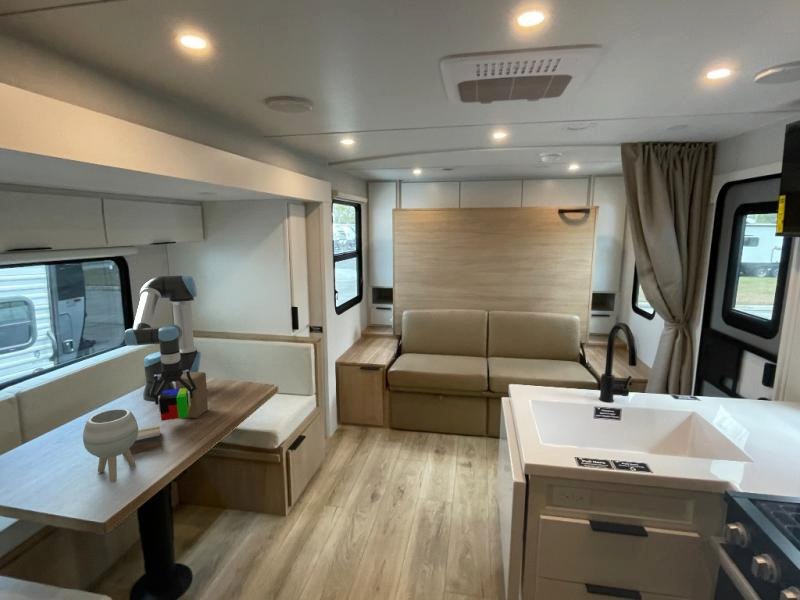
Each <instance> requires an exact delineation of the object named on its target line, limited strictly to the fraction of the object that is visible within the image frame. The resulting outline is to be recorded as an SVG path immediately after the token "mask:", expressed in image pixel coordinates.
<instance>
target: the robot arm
mask: <svg viewBox="0 0 800 600" xmlns="http://www.w3.org/2000/svg"><path fill="white" fill-rule="evenodd" d="M195 282H196V281H195V280H194V278H193V277H192V275H161V276H155V277H153V278H151V279H150V280H148V281H147V282H146V283H145V284H144V285H143V286H142V287H141V288H140V290H139V296H138V297H139V303H138V308H137V310H136V314H135V317H134V318H135V319H134V322H133V324H132V328H128V329H126V330H125V331H124V335H123V338H124V339H123V340H124V343H125V345H126V346H128V347H129V346H131V347H132V346H134V347H136V346H145V345H159V351H157V352H154V353H153V352H152V353H150V354H148V355H147V356H145V357H144V359H143V363H144V364H143V367H144V376H145V385H144V389H143V393H142V396H143V397H142V398H143V399H144V400H145V401H154V402H155V405H158V409H159V410H158V411H159V413H161V412H160V404H159V399H160V397H161V395H162V392H163V391H164V390H172V389H176V385H175V382H176V381H179V382H180V383H181V384H182V385H183V386H184V387H185V388H186V389H187V390H188V391H187V395H188V405H189V406H191V404H190V398H192V397H193V394H192V391H193V390H196V389H197V388H196V386H195V384H194V382H193V380H192V378H191V376H190V372H200V371H199V370H200V365H201V356H202V355H201V351H198V348H197V347H196V346H195V344H194V343H195V342H194V329H193V328H194V327H193V325H194V324H193V314H192V303H193V302H194V301H195V298H196V297H197V296H198V295H197V287H196V284H195ZM161 299H168V300H169V303H170V304H172V309H173V324H169V325H167V326H159V327H153V326H154V322H155V319H156V318H155V317H156V312H157V307H158V303H159V302H160V300H161ZM182 374H185V375H187V378H188V379H189V381H190V383H191V385H192V387H190V386H189V385H188V384H187V383H186V382H185V381H184V380H183V379H182V378H181V376H182Z"/></svg>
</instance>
